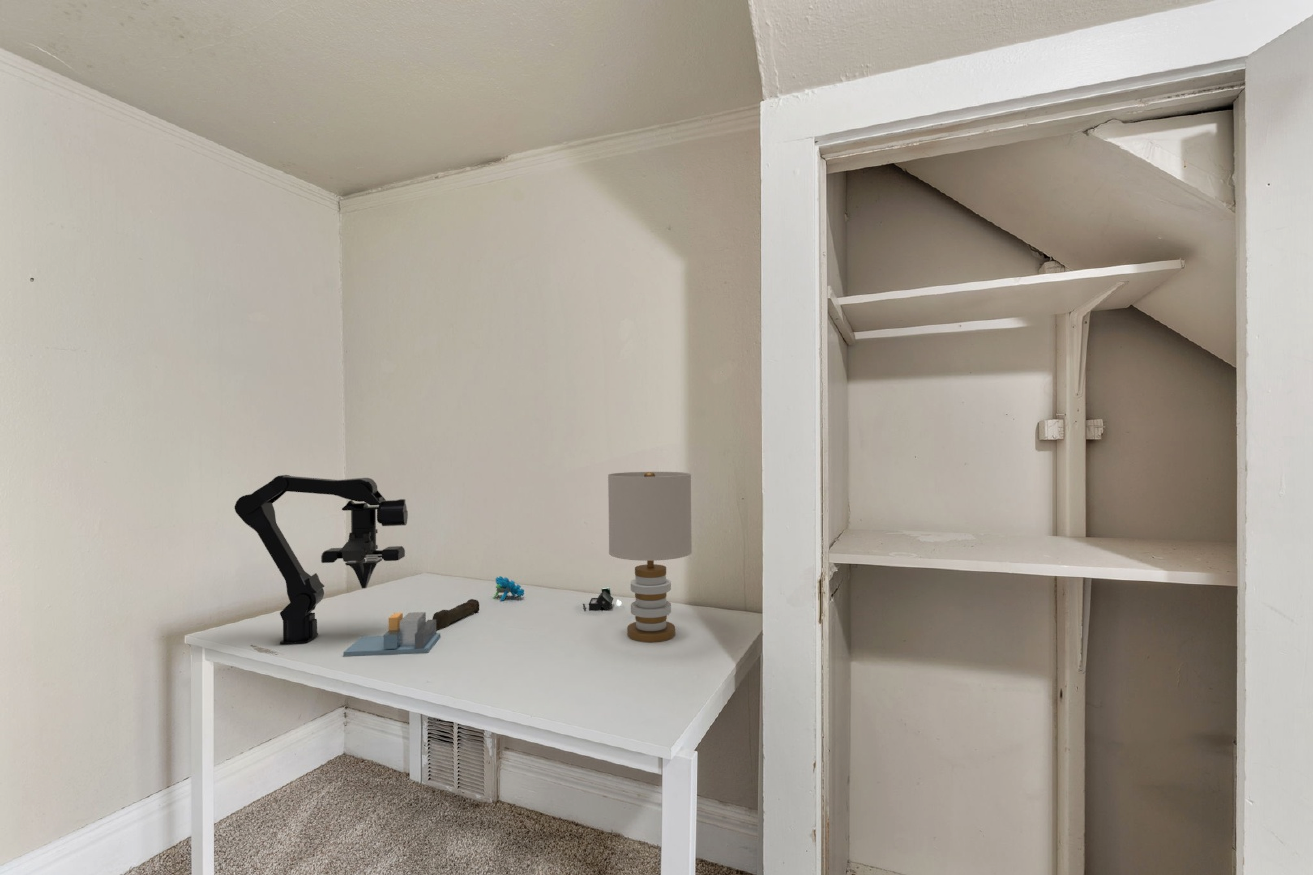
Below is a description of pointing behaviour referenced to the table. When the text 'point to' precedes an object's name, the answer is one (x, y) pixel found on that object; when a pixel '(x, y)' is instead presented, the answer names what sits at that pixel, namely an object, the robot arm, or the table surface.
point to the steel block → (411, 627)
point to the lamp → (650, 541)
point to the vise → (375, 646)
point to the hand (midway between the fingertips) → (364, 587)
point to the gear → (507, 588)
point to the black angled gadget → (601, 601)
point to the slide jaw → (393, 632)
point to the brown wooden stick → (455, 613)
